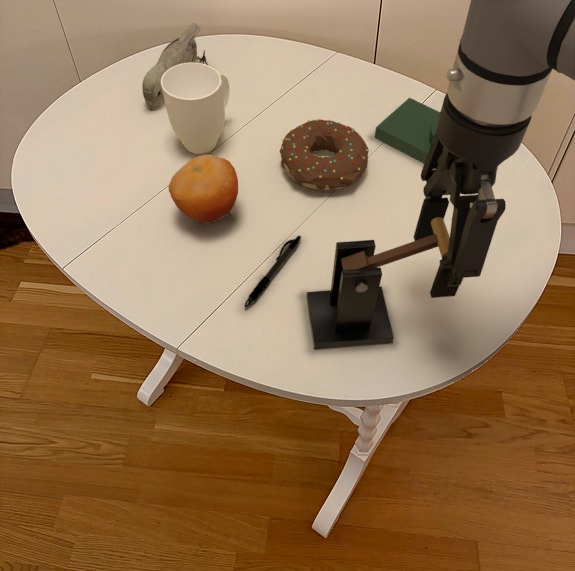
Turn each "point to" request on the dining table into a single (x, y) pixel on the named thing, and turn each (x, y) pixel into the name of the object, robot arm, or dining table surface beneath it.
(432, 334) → the dining table surface
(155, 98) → the decorative bird
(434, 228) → the lever
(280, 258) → the pen
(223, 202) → the fruit
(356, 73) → the dining table surface
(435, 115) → the button block
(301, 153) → the donut
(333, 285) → the switch bracket
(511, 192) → the dining table surface
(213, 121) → the mug
